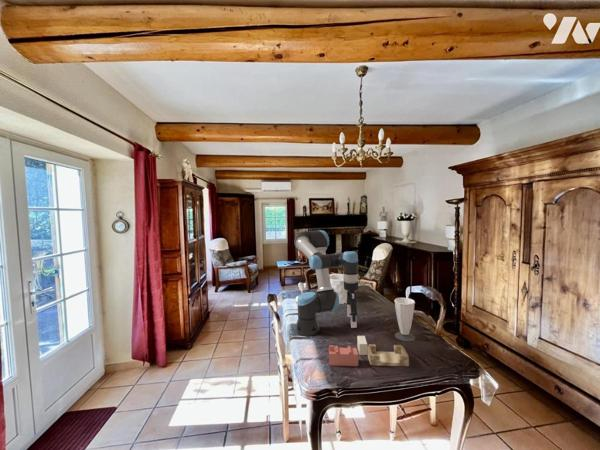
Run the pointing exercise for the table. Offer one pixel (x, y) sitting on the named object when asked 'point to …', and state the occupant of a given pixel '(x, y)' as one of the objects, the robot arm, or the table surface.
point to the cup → (404, 318)
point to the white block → (362, 345)
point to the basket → (339, 287)
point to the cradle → (388, 356)
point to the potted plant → (301, 287)
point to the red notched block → (343, 356)
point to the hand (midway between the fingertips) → (351, 321)
